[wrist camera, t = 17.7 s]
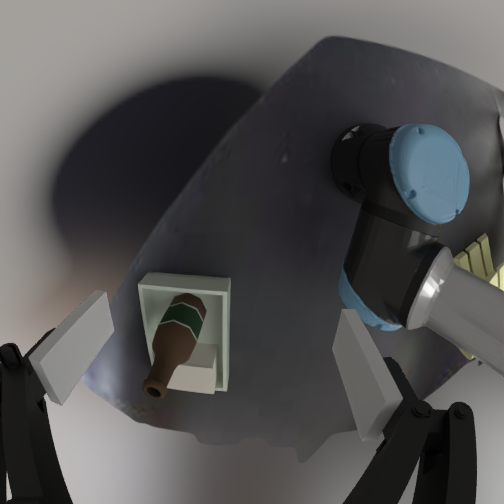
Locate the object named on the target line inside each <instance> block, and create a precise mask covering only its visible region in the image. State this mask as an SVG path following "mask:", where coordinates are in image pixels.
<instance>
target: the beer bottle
mask: <svg viewBox="0 0 504 504" xmlns="http://www.w3.org/2000/svg"><path fill="white" fill-rule="evenodd" d="M206 311H207V310H206V308H205V306H204V304H203V302H202V300H201V298H199V297H197V296H195V295H192V294H190V293H185V294H181V295H178V296H175V297H174V299H173V300H172V302H171V303H170V305H169V307H168V309H167V310H166V312H165V314H164V316H163V318H162V319H161V321H160V323H159V325H158V327H157V330H156V332H155V335H154V338H153V341H152V349H153V352H154V354H155V358H154V362H153V365H152V367H151V370H150V373H149V376H148V378H147V379H146V380H144V383H143V391H144V392H145V393H146V395H147V396H149V397H151V398H154V399H163V398H164V397H165V396H166V393H167V391H168V389H167V386H168V383H169V381H170V379H171V377H172V375H173V373H174V370H175V369H176V368H177V366H178V365H181V364H183V363H185V362H186V361H188V360H189V358H190V356H191V354H192V352H193V350H194V348H195V345H196V343H197V341H198V337H199V334H200V331H201V328H202V325H203V322H204V319H205V316H206Z"/></svg>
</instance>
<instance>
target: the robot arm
mask: <svg viewBox="0 0 504 504" xmlns="http://www.w3.org/2000/svg"><path fill="white" fill-rule="evenodd" d="M331 166H332V172H333V176H334V178H335V181H336V183H337V185H338V186H339V188H340V189H341V190H342V191H343V193H345V194H346V195H347V196H348V197H349V198H351V199H352V200H354V201H356V202H359V203H361V204H362V206H361V209H360V212H359V216H358V219H357V223H356V226H355V230H354V233H353V236H352V239H351V243H350V246H349V249H348V252H347V255H346V257H345V258H344V260H343V263H342V271H341V275H340V278H339V282H338V289H339V296H340V298H341V300H342V302H343V303H344V305H345V306H346V307H347V308H348V309H342V312H341V316H340V320H339V324H338V328H337V332H336V336H335V340H334V344H333V347H332V351H333V353H334V356H335V359H336V362H337V365H338V368H339V371H340V375H341V378H342V381H343V384H344V387H345V390H346V393H347V396H348V400H349V403H350V406H351V409H352V413H353V416H354V419H355V423H356V426H357V429H358V433H359V436H360V440H361V441H362V442H363V441H369V440H374V439H378V437H379V436H380V434H381V433H382V431H383V434H384V437H385V439H384V440H383V442H382V443H381V444H380V446H379V447H378V448H377V449H376V451H377V452H376V454H375V456H374V457H373V459H372V461H371V462H370V464H369V466H368V467H367V469H366V470H365V472H364V474H363V475H362V477H361V478H360V480H359V481H358V483H357V484H356V486H355V487H354V489H353V490H352V491H351V493H350V494H349V496H348V497H347V498H346V500H345V501H344V502H343V504H398V502H399V500H400V498H401V496H402V494H403V492H404V490H405V488H406V486H407V484H408V482H409V480H410V478H411V476H412V473H413V471H414V469H415V467H416V464H417V461H418V459H419V457H420V461H419V468H418V475H417V482H416V487H415V492H414V497H413V502H412V504H475V501H476V486H477V452H476V437H475V425H474V416H473V412H472V409H471V408H470V406H469V405H467V404H466V403H463V402H455V403H453V404H452V405H451V406H450V408H449V409H448V410H435V409H433V408H432V407H431V406H430V405H429V404H428V403H427V402H425V401H422V400H418V398H417V397H416V395H415V393H414V391H413V389H412V387H411V385H410V384H409V382H408V380H407V379H406V376H405V375H404V373H402V369H401V368H400V366H399V364H398V363H397V362H396V361H395V360H394V359H392V358H391V357H385V358H382V356H381V355H380V353H379V351H378V349H377V347H376V345H375V343H374V342H373V340H372V338H371V336H370V334H369V333H368V331H367V329H366V327H365V325H364V324H363V322H364V323H366V324H368V325H370V326H372V327H374V326H375V325H376V326H377V327H378V328H379V329H380V330H384V331H395V330H397V329H399V328H400V327H402V326H404V327H405V328H407V329H408V330H412V329H416V328H419V327H422V326H426V327H428V328H429V329H431V330H433V331H434V332H436V333H437V334H439V335H441V336H442V337H444V338H445V339H447V340H449V341H450V342H452V343H453V344H455V345H456V346H458V347H460V348H461V349H463V350H464V351H466V352H467V353H469V354H470V355H472V356H473V357H475V358H477V359H478V360H480V361H481V362H483V363H484V364H486V365H487V366H489V367H490V368H492V369H493V370H495V371H496V372H498V373H499V374H501V375H502V376H504V291H503V290H501V289H500V288H498V287H496V286H494V285H493V284H491V283H489V282H487V281H486V280H484V279H482V278H480V277H478V276H476V275H474V274H473V273H471V272H469V271H467V270H465V269H463V268H461V267H459V266H457V265H456V264H455V262H454V260H453V257H452V254H451V251H450V249H449V248H448V247H446V246H444V245H442V244H440V243H438V242H437V241H438V237H439V234H440V231H441V227H442V224H443V223H446V222H449V221H451V220H453V219H454V218H455V215H456V214H459V213H460V212H461V211H462V209H463V208H464V205H465V203H466V201H467V197H468V193H469V171H468V166H467V163H466V160H465V158H464V157H463V156H462V152H461V149H460V147H459V145H458V144H457V142H456V141H455V140H454V139H453V138H452V137H451V136H450V135H449V134H448V133H447V132H445V131H444V130H442V129H441V128H439V127H437V126H434V125H429V124H416V123H414V124H412V123H410V124H405V125H403V126H399V127H394V128H390V129H387V128H385V127H383V126H380V125H377V124H361V125H357V126H354V127H352V128H350V129H348V130H346V131H345V132H344V133H343V134H342V135H341V136H340V137H339V138H338V140H337V141H336V143H335V146H334V148H333V152H332V157H331ZM362 321H363V322H362ZM113 332H114V327H113V323H112V318H111V313H110V309H109V304H108V299H107V293H106V291H99V290H95V291H94V292H93V293H92V294H91V295H90V296H89V297H88V298H87V299H85V300H84V301H83V302H82V303H81V304H80V305H79V306H78V307H77V308H76V309H75V310H74V311H73V312H72V313H71V314H70V315H69V316H68V317H67V318H66V319H65V320H64V321H63V322H62V323H61V324H60V325H59V326H58V327H57V328H53V329H52V330H50V331H48V332H47V333H46V334H45V335H44V336H43V337H42V338H41V339H40V340H39V341H38V342H37V344H35V345H34V346H33V347H32V348H31V349H30V350H29V351H28V352H27V353H26V354H25V356H24V357H22V355H21V353H20V351H19V348H18V346H17V345H16V344H14V343H7V344H4V345H2V346H1V347H0V504H73V502H72V500H71V498H70V495H69V492H68V489H67V486H66V484H65V481H64V478H63V475H62V471H61V468H60V465H59V461H58V458H57V455H56V450H55V447H54V442H53V439H52V434H51V429H50V424H49V419H48V413H47V407H46V401H45V399H44V397H43V396H44V395H45V394H46V393H47V395H48V396H49V398H50V400H51V401H52V402H55V403H57V404H59V405H62V406H63V404H64V403H65V401H66V400H67V398H68V397H69V395H70V393H71V392H72V390H73V389H74V387H75V386H76V384H77V383H78V381H79V380H80V379H81V377H82V376H83V374H84V373H85V371H86V370H87V368H88V367H89V365H90V364H91V363H92V361H93V360H94V358H95V357H96V356H97V354H98V353H99V351H100V350H101V349H102V347H103V346H104V344H105V343H106V342H107V340H108V339H109V338H110V336H111V335H112V334H113ZM6 473H8V479H9V484H10V489H11V493H12V499H11V500H8V501H7V498H6Z"/></svg>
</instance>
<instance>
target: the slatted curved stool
mask: <svg viewBox="0 0 504 504" xmlns="http://www.w3.org/2000/svg"><path fill="white" fill-rule="evenodd" d="M453 260H454V262H455V264H456V265H457V266H459V267H461V268H463V269H465V270H467V271H469V272H471V273H473V274H474V275H476V276H478V277H480V278H482V279H484V280H486V281H487V282H489V283H491V284H493V285H494V286H496V287H498V288H500V289H501V290H503V291H504V261H503V262H502V263H501V264H500V265H499V266H498V267H497V272H496V271H495V270H494V269H493V265H492V260H491V254H490V248H489V242H488V236H487V235H486V233H484V234H483V235H482V236H481V237H479V238H478V239H477V242H473V243H472V244H471V245H470V246H468V247H467V248H466V249H465V252H463V251H462V252H461V253H459V254H458V255H457V256H456V257H454V258H453ZM457 347H458V346H457ZM458 348H459V350H460V351H461V352H462V353H463V354H464V356H465V357H466V358H467V359H469V360H471V359H472V358H473V356H472V355H470V354H469V353H467V352H466V351H464V350H463V349H461V348H460V347H458Z"/></svg>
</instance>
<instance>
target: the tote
mask: <svg viewBox="0 0 504 504" xmlns="http://www.w3.org/2000/svg"><path fill="white" fill-rule="evenodd" d="M230 285H231V278H225V277H211V276H197V275H184V274H171V273H159V272H148V273H147V274H146V275H145V276H144V278H143V279H142V280H141V281H140V282H139V283H138V290H139V297H140V304H141V311H142V317H143V323H144V329H145V335H146V340H147V345H148V350H149V355H150V360H151V364H152V365H153V362H154V358H155V354H154V352H153V349H152V341H153V338H154V335H155V332H156V330H157V327H158V325H159V323H160V321H161V319H162V318H163V316H164V314H165V312H166V310H167V309H168V307H169V305H170V303H171V302H172V300H173V299H174V297H175V296H178V295H181V294H185V293H190V294H192V295H195V296H197V297H199V298H201V300H202V302H203V304H204V306H205V308H206V310H207V311H206V316H205V319H204V322H203V325H202V328H201V331H200V334H199V337H198V341H197V343H206V344H217V345H218V374H217V380H216V385H215V390H217V391H227V386H228V379H229V336H230Z"/></svg>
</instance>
